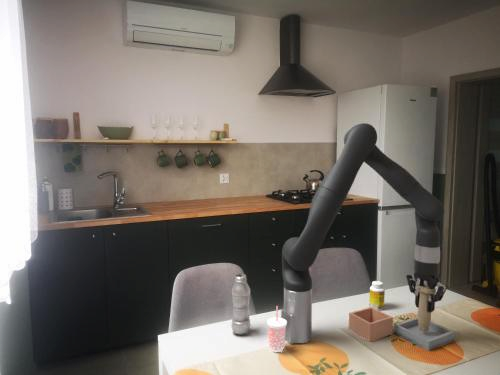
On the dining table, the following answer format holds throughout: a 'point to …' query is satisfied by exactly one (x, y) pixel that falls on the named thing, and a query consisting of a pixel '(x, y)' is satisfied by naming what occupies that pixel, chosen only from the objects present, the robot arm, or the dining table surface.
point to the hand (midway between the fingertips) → (424, 309)
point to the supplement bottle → (377, 295)
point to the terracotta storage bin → (370, 323)
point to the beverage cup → (276, 332)
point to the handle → (424, 308)
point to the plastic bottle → (240, 305)
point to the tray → (424, 334)
